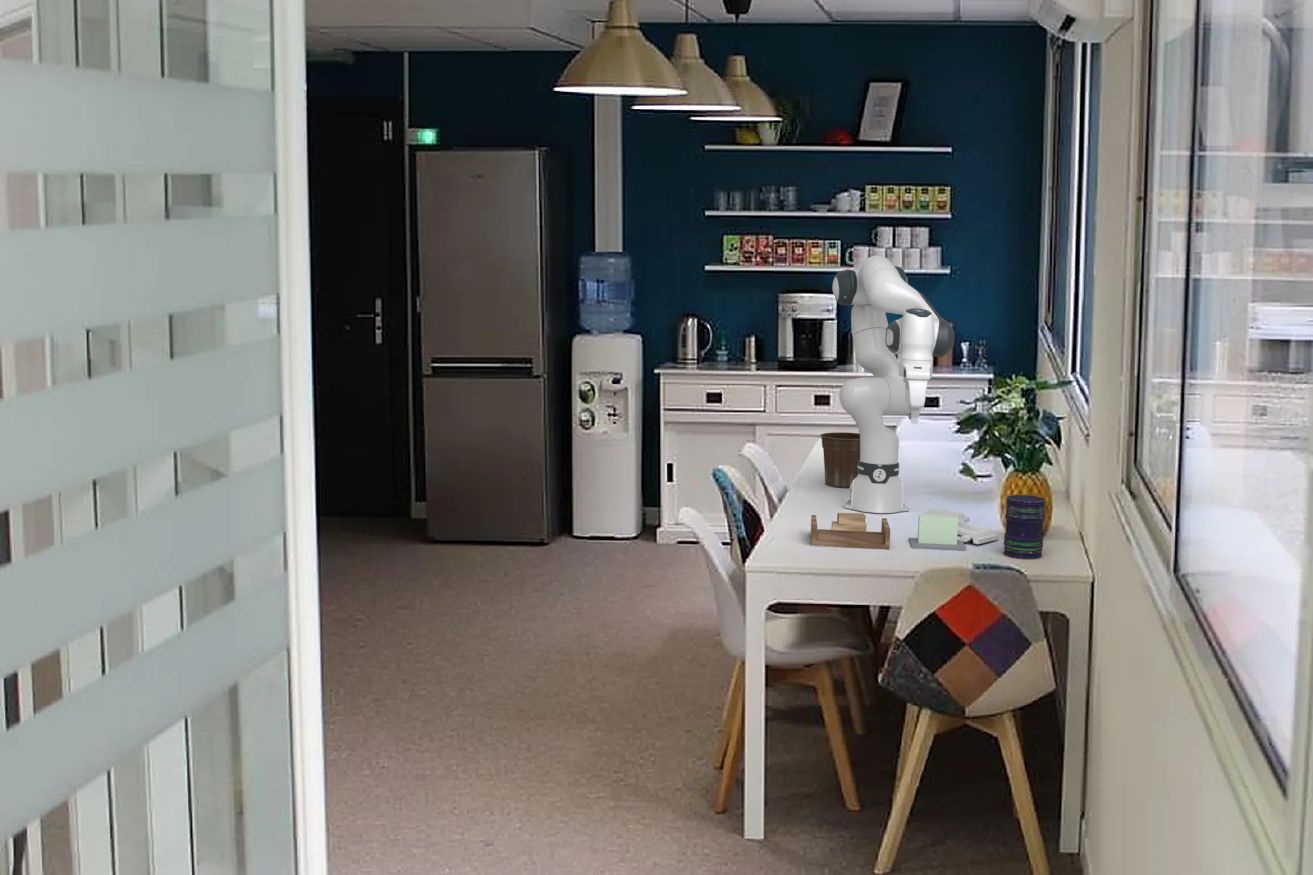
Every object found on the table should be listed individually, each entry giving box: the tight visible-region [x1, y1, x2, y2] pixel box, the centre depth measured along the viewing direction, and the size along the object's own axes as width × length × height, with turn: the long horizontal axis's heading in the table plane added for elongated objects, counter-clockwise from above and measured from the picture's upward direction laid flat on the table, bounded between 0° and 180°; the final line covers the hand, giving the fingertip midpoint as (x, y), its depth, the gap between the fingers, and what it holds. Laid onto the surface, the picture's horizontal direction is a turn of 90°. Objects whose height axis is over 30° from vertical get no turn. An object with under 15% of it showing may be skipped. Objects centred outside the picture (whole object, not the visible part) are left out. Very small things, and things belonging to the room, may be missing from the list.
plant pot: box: [819, 431, 860, 489], centre depth 518 cm, size 16×16×16 cm
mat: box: [908, 537, 967, 551], centre depth 427 cm, size 11×14×1 cm
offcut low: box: [831, 520, 868, 531], centre depth 433 cm, size 4×9×3 cm, turn 86°
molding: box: [923, 507, 1000, 545], centre depth 448 cm, size 42×12×3 cm, turn 6°
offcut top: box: [836, 512, 867, 525], centre depth 432 cm, size 4×7×2 cm, turn 90°
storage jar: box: [1003, 494, 1046, 561], centre depth 416 cm, size 10×10×15 cm
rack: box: [810, 514, 891, 550], centre depth 428 cm, size 16×20×5 cm
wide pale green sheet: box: [917, 514, 958, 545], centre depth 427 cm, size 2×10×7 cm, turn 86°
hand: (913, 421), depth 435 cm, fingers open, 8 cm apart
